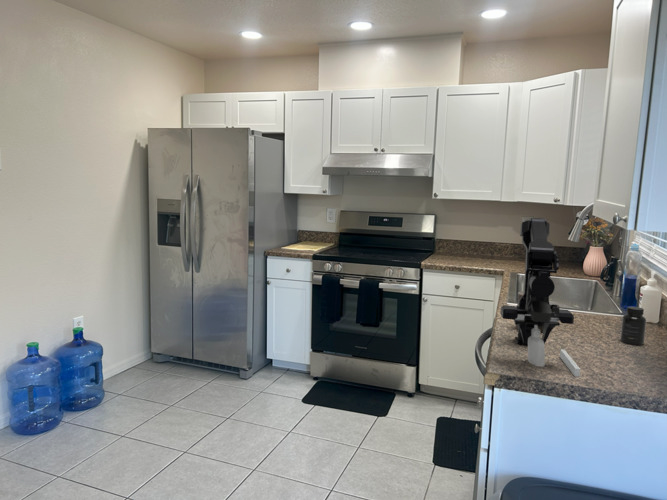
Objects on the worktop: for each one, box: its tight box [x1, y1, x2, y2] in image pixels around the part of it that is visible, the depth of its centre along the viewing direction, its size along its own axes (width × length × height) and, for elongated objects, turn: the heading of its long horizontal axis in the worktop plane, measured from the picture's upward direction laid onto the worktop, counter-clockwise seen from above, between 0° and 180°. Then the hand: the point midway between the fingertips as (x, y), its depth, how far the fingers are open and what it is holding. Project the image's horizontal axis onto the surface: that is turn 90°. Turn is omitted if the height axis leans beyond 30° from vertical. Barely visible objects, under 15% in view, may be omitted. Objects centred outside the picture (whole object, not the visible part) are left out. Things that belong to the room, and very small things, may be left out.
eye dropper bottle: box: [527, 325, 546, 368], centre depth 140 cm, size 4×6×12 cm
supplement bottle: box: [620, 305, 647, 346], centre depth 165 cm, size 7×7×12 cm
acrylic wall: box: [559, 348, 581, 378], centre depth 139 cm, size 16×1×3 cm, turn 168°
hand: (533, 343), depth 140 cm, fingers open, 5 cm apart
